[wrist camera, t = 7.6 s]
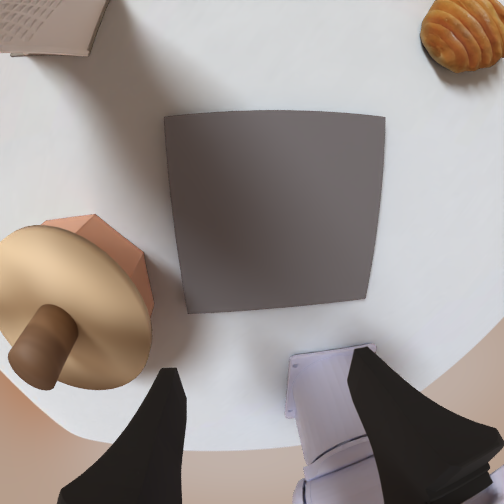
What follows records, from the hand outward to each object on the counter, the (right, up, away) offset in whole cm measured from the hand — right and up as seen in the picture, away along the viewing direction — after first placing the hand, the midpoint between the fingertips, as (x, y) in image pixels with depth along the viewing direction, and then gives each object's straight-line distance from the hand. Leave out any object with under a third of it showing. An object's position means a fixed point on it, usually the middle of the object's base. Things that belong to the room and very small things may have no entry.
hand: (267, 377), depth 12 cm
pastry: (+15, +22, +2) cm, 27 cm away
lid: (-12, +1, +4) cm, 13 cm away
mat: (+1, +7, +8) cm, 11 cm away
